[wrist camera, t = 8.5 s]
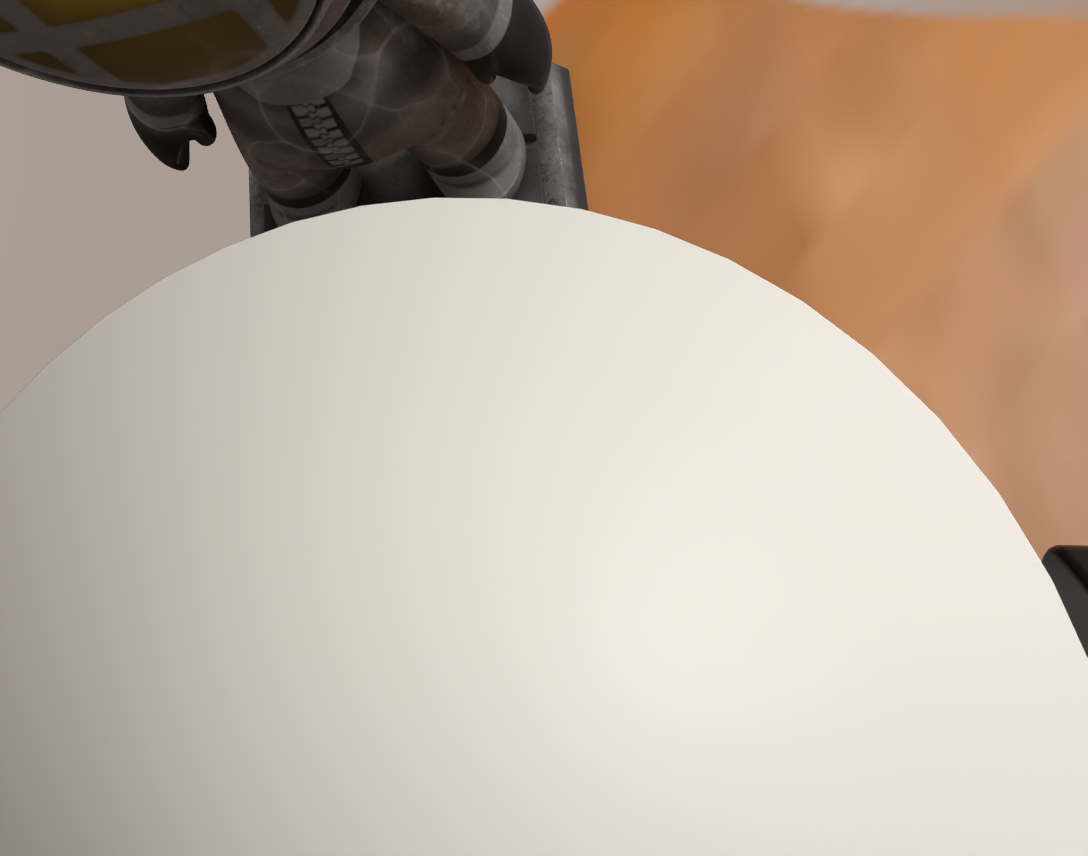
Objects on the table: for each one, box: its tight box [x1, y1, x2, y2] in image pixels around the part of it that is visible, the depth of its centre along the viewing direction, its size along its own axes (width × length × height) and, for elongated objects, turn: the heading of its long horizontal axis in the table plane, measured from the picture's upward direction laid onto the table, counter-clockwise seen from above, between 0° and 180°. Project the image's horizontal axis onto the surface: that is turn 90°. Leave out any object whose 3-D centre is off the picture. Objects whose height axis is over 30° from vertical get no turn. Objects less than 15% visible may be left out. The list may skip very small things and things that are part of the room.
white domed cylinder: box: [0, 198, 1088, 856], centre depth 9 cm, size 6×6×12 cm
